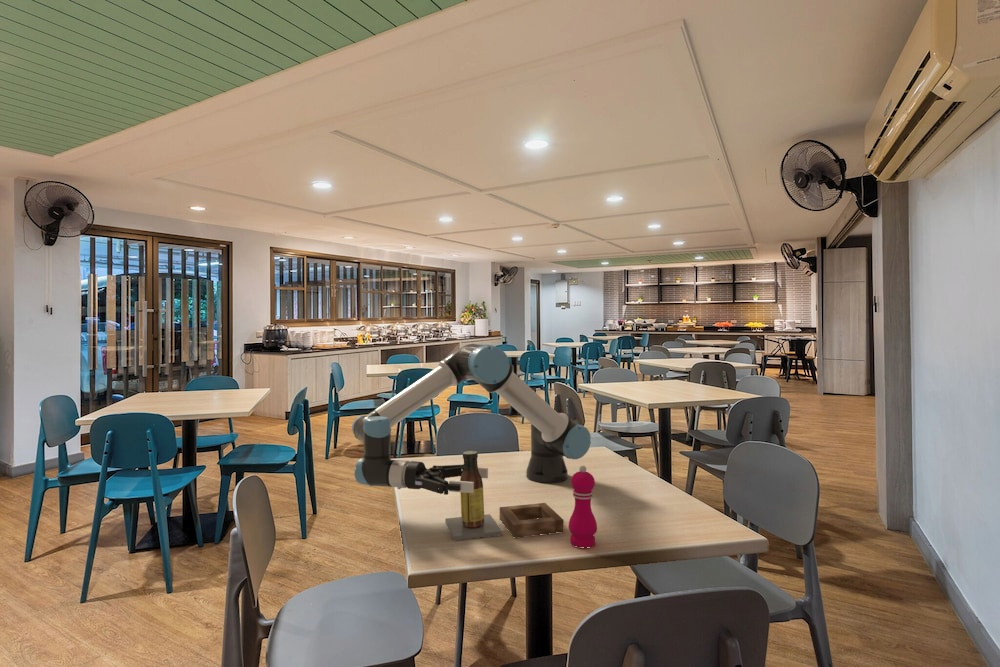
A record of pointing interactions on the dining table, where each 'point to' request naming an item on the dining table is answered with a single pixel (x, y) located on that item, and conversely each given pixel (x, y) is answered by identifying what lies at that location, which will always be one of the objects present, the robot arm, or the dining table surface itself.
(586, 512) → the pepper mill
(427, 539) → the dining table surface
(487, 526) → the slate tile
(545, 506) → the bottle holder
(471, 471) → the sauce bottle
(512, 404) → the robot arm
